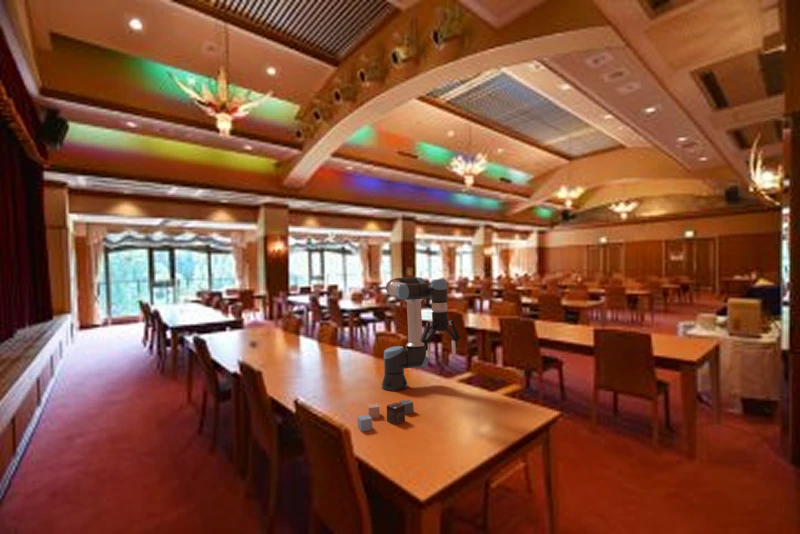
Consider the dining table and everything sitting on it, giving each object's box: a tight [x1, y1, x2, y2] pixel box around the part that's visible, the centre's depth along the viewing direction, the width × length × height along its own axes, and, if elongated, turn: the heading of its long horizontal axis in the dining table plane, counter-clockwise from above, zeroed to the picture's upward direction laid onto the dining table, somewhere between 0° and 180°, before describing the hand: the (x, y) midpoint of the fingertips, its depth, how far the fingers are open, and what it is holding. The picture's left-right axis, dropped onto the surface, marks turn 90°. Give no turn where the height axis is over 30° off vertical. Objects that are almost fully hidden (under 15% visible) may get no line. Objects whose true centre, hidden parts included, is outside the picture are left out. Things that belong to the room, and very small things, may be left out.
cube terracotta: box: [367, 403, 381, 419], centre depth 180 cm, size 5×5×5 cm
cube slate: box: [357, 414, 373, 433], centre depth 166 cm, size 5×5×5 cm
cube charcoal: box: [398, 399, 415, 416], centre depth 184 cm, size 5×5×5 cm
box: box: [386, 402, 406, 425], centre depth 173 cm, size 6×6×7 cm
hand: (441, 355), depth 182 cm, fingers open, 13 cm apart
